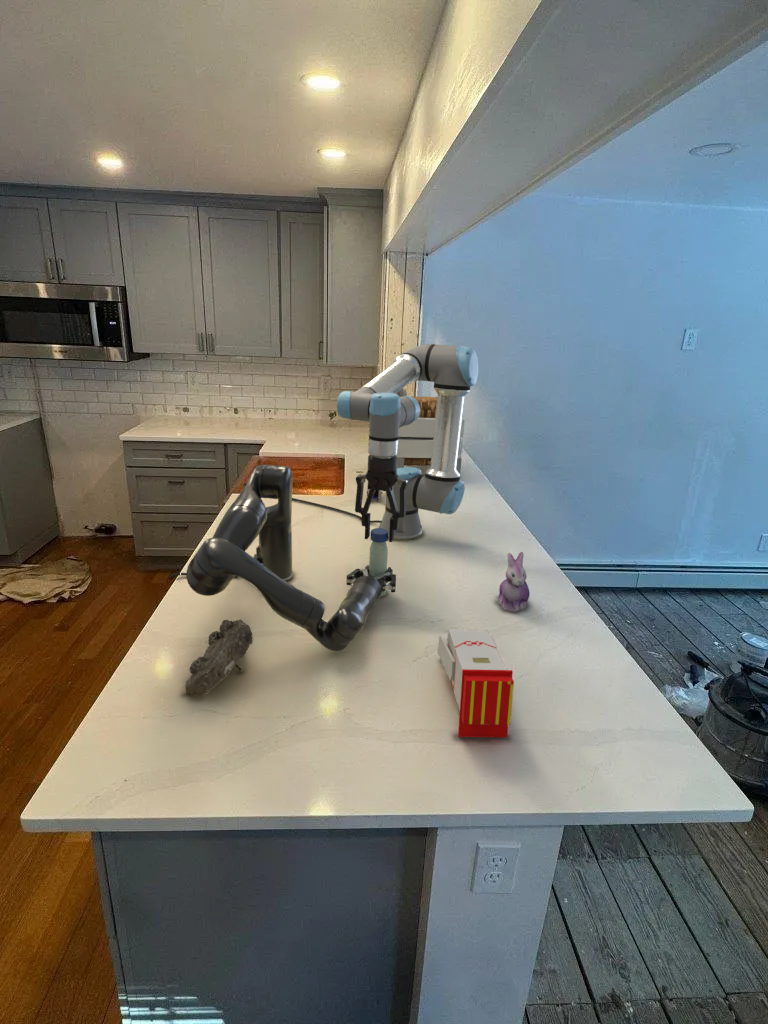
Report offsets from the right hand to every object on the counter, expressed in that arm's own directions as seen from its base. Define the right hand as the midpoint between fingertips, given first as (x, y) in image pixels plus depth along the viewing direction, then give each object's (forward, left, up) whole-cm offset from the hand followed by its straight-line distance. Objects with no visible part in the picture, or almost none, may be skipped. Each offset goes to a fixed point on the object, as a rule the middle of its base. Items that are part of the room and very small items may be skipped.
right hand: (379, 538), depth 152 cm
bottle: (0, 0, -16) cm, 16 cm away
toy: (+45, -12, -16) cm, 49 cm away
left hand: (-1, +2, -10) cm, 11 cm away
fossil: (+7, -49, -16) cm, 52 cm away
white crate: (-82, +95, -16) cm, 127 cm away
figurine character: (-65, +53, -16) cm, 85 cm away
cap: (0, 0, +2) cm, 2 cm away
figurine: (+27, +26, -16) cm, 41 cm away
